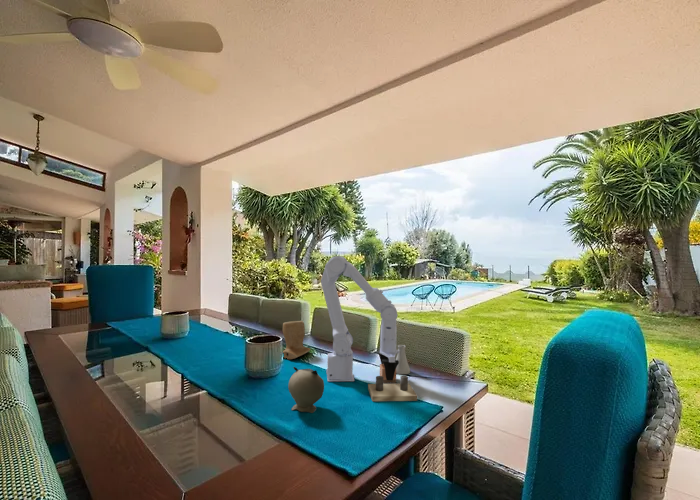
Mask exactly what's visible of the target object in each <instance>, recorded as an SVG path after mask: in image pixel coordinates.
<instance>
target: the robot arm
mask: <svg viewBox="0 0 700 500" xmlns="http://www.w3.org/2000/svg"><path fill="white" fill-rule="evenodd" d="M341 275H342V276H344V277H347V278H350V279H351V280H353V282H354V283H356V285H357V286H358V287H359V288H360V289H361V290H362V291H363V293H365V299H366V301H367V302H368V303H369V304H370V305H371V306H372V307H373V309H374V310H375V311H376V312H378V313H380V314H379V315H380V319H381V324H380V339H379V341H380V343H379V344H380V346H379V352H378V353H377V355H378V356H379V359H380V363H381V364H384V367H385V374H386V379H387V380H393V377H394V373H395V369H396V367H397V365H398V364H399V361H398V360H396V357H397V354H398V353H400V351H399V350H398V349H397V339H398V338H397V333H398V332H397V328H398V326H397V322H398V321H397V319H398V316H399V315H398V311H397V307H395V304H393V303H392V301H391V300H389V299H388V298H387V297H386V296H385V294H383V290H382V289H381V288H380V289H379V288H377V287H372V285H371V284H370V283H369V282H368V281H367V280H366V279H365V277H364V276H363V275H362V273H360V271H359V270H358V269H357V267H356V266H354V265H353V264H352V263H351V262H350V261H348V260H347V258H346V257H344V256H342V255H339V256H338V255H336V256H335V255H334V256H332V257H330V258H329V260H328V261H327V262H326V264H325V266H324V270H323V273H322V276H321V279H320V284H321V288H322V292H323V295H324V301H325V304H326V309H327V312H328V315H329V319H330V323H331V328H332V339H333V343H332V349H333V350H332V352H329V353H328V352H327V364H326V365H327V366H326V371H325V372H326V373H325V374H326V378H327V382H355V376H354V373H353V370H354V368H353V365H354V363H353V361H354V360H353V359H354V352H353V350H352V345H353V343H354V338H353V335H352V334H351V333H350V332H349V329H348V326H347V325H346V322H345V321H346V320H345V318H344V313H343V310H342V306H341V301H340V299H339V294H338V289H337V286H336V283H337V280H338V279H339V277H340V276H341Z"/></svg>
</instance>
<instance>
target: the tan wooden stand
mask: <svg viewBox="0 0 700 500" xmlns="http://www.w3.org/2000/svg"><path fill="white" fill-rule="evenodd" d="M305 327H306V326H305V321H303V320H293V321H285V322H283V323H282V334H283V338H284V341H285V345H286V346H285V349H284V350H283V353H284V357H283V358H284V359H286V358H287V360H293V359H294V360H295V359H296V358H298V357H301V356H303V355H305V354H306V353H307V354H308V353H309V352H310V351H311V348H309V347H306V346H304V339H305V333H306V329H305Z"/></svg>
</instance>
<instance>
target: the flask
mask: <svg viewBox="0 0 700 500" xmlns="http://www.w3.org/2000/svg"><path fill="white" fill-rule="evenodd" d="M406 348H407V346H406V345H404V344H398V345H397V350H399V351H400V353H397V354H396V356H395V360H398V361H399V364H398V365H397V367H396V375H397V374H398V375H408V374H410V373H411V369H410V366H409V362H408V359H407V356H406Z"/></svg>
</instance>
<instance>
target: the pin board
mask: <svg viewBox="0 0 700 500" xmlns="http://www.w3.org/2000/svg"><path fill="white" fill-rule="evenodd" d="M399 380H400V382H399V383H383V377H382V376H380V375H377V376H375V383H368V384H367V390H368V392H369V396H370V398H371V401H372V402H408V401H409V402H412V401H414V402H415V401H417V402H418V394H417V393H416V391H415V389H414V388H413V387H412V385H411V384H410V383H409V377H408V376H407V375H401V376H400V378H399Z"/></svg>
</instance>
